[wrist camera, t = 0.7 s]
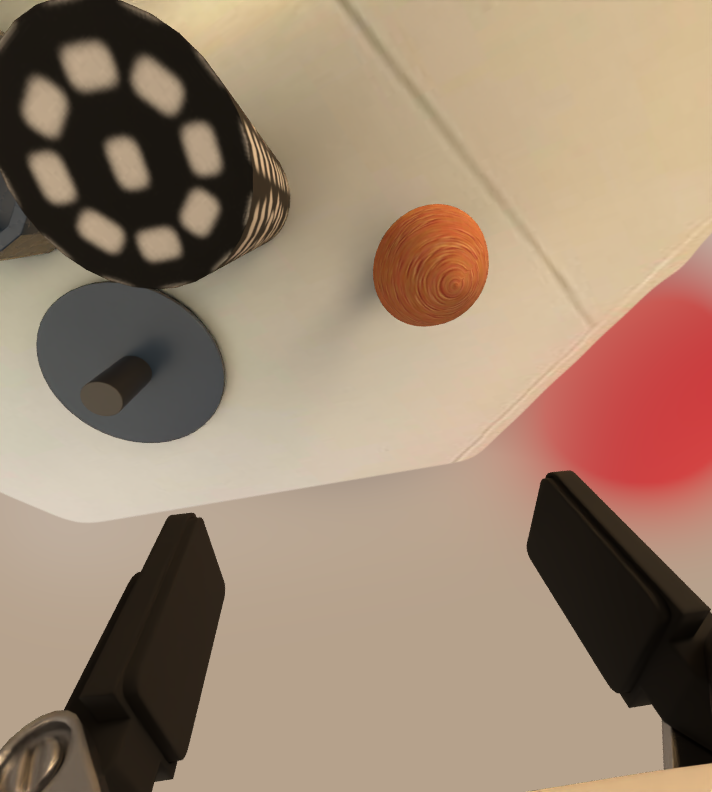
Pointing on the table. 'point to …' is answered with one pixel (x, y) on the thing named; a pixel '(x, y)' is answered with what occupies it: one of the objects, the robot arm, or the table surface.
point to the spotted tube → (131, 146)
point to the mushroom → (431, 265)
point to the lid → (130, 362)
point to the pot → (18, 228)
